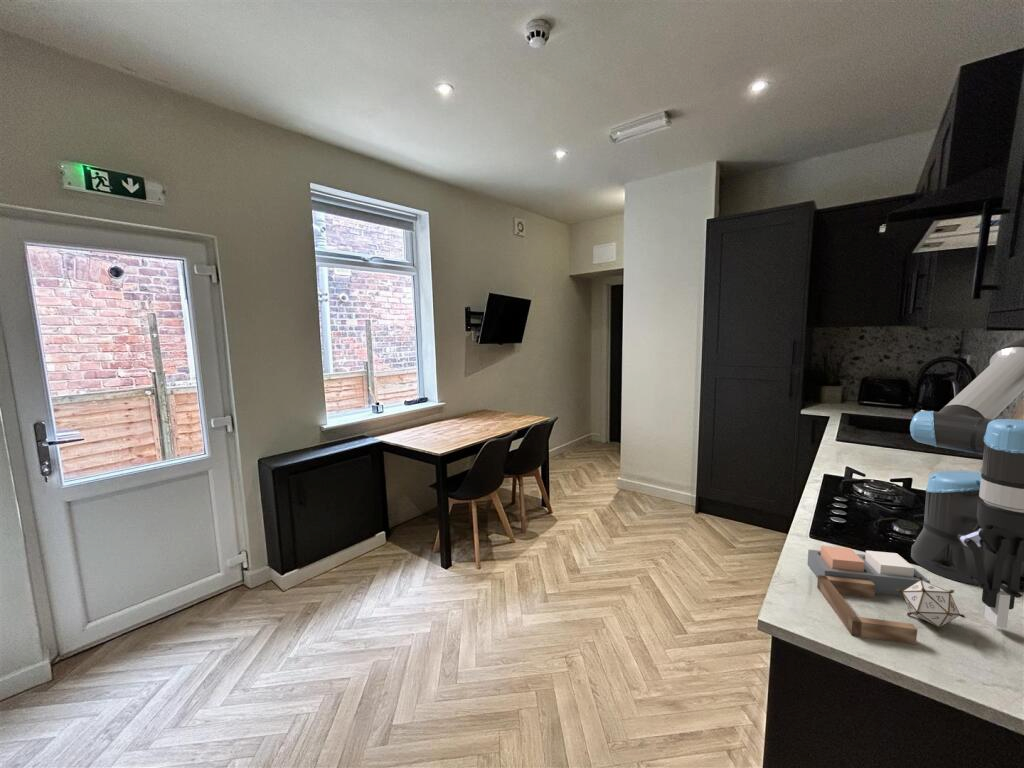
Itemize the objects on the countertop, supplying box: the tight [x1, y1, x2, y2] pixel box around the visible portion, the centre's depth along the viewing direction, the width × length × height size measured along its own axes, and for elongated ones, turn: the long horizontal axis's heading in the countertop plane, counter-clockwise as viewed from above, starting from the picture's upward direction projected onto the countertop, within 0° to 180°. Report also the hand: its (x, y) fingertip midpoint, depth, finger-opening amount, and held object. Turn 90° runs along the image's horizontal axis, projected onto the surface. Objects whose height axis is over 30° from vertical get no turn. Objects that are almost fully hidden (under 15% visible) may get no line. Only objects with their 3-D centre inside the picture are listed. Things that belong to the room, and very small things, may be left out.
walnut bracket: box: [816, 575, 918, 645], centre depth 83 cm, size 10×15×3 cm, turn 164°
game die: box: [896, 575, 966, 633], centre depth 80 cm, size 9×8×10 cm
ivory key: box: [864, 550, 915, 577], centre depth 92 cm, size 6×6×3 cm
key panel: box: [807, 549, 931, 597], centre depth 94 cm, size 19×9×4 cm, turn 74°
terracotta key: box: [820, 545, 865, 572], centre depth 95 cm, size 6×6×3 cm
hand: (995, 622), depth 77 cm, fingers closed
